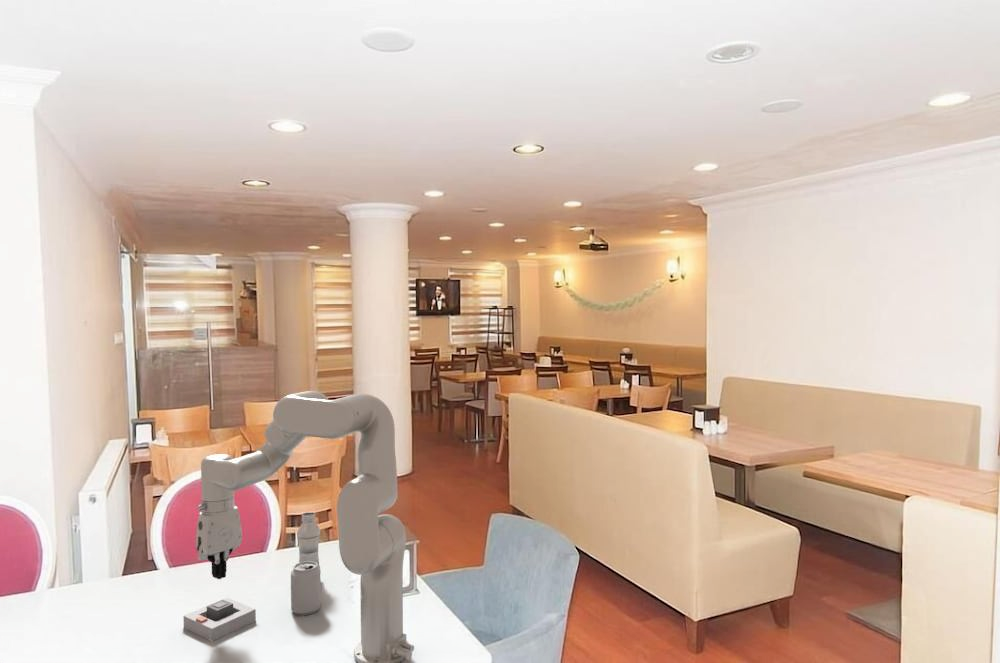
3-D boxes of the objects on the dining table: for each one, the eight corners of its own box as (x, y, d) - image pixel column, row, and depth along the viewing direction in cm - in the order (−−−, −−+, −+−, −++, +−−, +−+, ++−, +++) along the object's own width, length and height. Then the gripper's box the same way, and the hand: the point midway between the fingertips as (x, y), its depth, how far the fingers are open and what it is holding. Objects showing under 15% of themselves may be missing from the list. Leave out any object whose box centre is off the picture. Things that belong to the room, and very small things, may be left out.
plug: (233, 623, 161) (233, 603, 161) (217, 630, 158) (217, 610, 157) (222, 618, 164) (222, 599, 163) (206, 626, 160) (206, 605, 160)
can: (312, 617, 164) (311, 571, 163) (285, 615, 165) (285, 569, 165) (325, 604, 171) (325, 560, 171) (300, 602, 173) (299, 558, 172)
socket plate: (255, 620, 162) (255, 607, 162) (212, 641, 152) (211, 626, 152) (227, 608, 169) (227, 595, 169) (183, 627, 159) (183, 613, 159)
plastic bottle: (292, 585, 183) (291, 516, 183) (306, 576, 190) (305, 509, 189) (312, 588, 181) (311, 518, 181) (325, 578, 188) (324, 511, 187)
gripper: (198, 515, 151) (199, 591, 152) (253, 499, 164) (254, 570, 164) (180, 510, 155) (182, 584, 156) (235, 495, 168) (236, 564, 169)
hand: (219, 576), depth 160 cm, fingers closed
